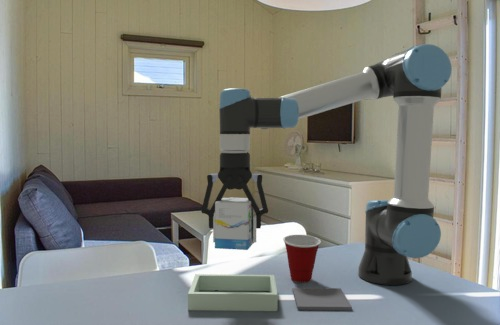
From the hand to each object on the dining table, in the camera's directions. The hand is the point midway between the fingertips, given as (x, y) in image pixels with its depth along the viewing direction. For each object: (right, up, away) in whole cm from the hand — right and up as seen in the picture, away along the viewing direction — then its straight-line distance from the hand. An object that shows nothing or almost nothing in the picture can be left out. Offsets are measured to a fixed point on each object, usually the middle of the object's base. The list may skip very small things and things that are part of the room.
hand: (234, 241), depth 113 cm
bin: (0, -15, +1) cm, 15 cm away
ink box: (0, -1, 0) cm, 1 cm away
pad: (+22, -15, +1) cm, 26 cm away
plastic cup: (+19, -14, +17) cm, 29 cm away
